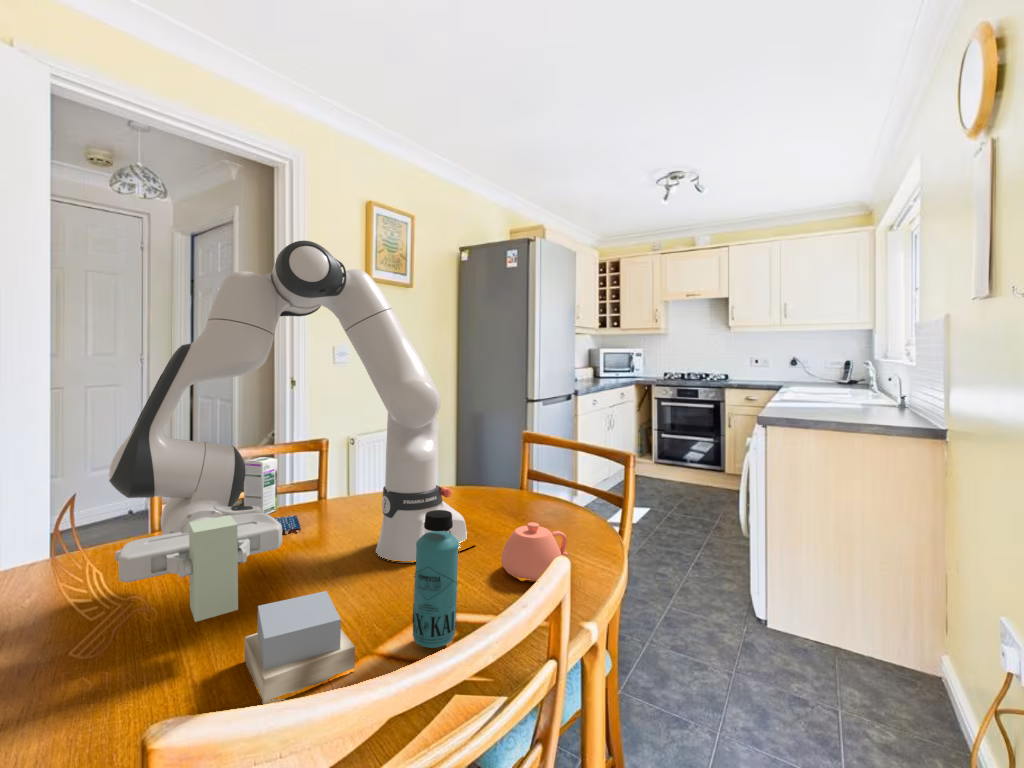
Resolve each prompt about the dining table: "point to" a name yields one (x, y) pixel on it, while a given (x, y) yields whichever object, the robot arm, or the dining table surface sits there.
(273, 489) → the syrup box
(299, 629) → the tower top
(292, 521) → the blue studded pad
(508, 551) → the sugar bowl
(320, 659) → the tower base
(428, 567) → the beverage bottle
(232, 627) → the dining table surface
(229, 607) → the sage block
